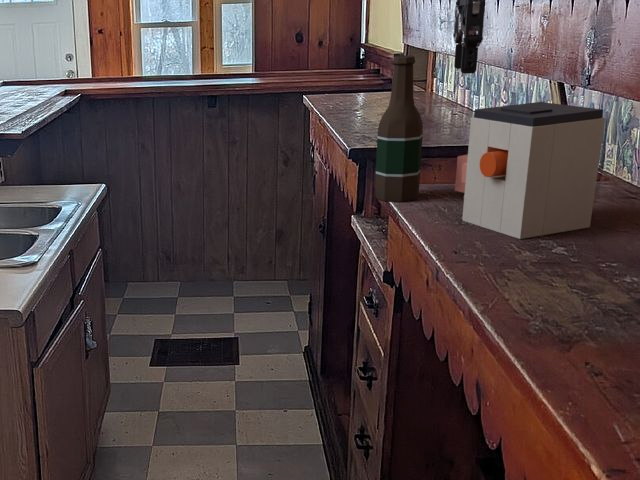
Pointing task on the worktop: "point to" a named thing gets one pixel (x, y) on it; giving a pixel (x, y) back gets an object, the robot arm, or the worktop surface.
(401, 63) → the beer bottle
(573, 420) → the worktop surface
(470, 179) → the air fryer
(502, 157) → the power button
